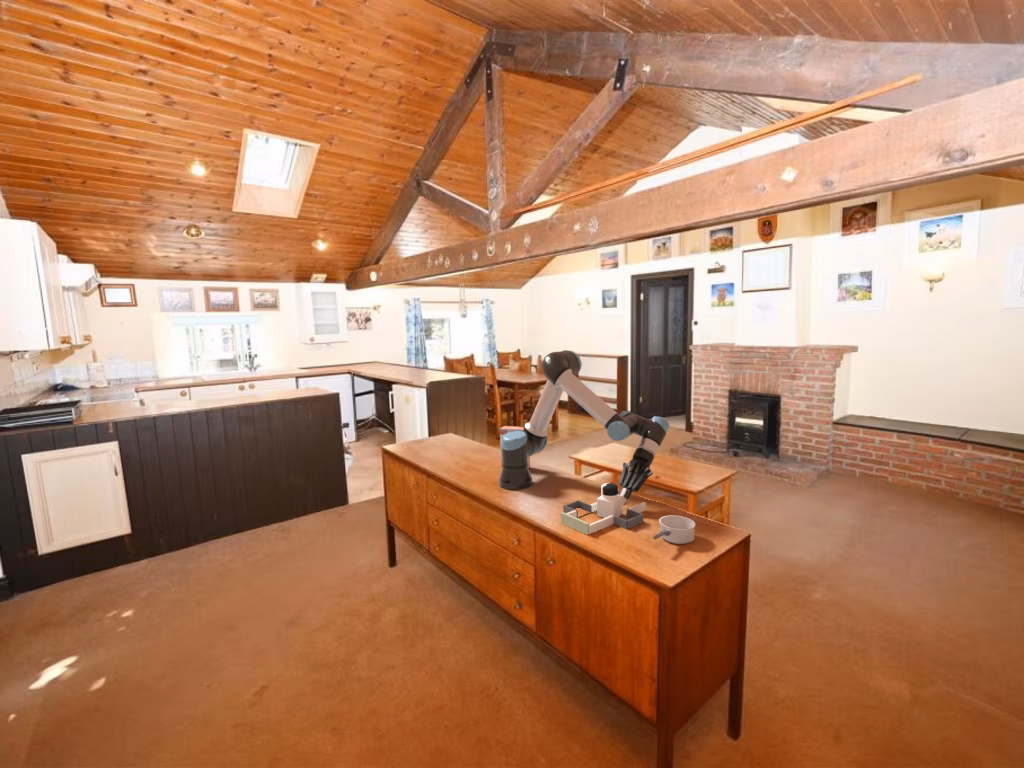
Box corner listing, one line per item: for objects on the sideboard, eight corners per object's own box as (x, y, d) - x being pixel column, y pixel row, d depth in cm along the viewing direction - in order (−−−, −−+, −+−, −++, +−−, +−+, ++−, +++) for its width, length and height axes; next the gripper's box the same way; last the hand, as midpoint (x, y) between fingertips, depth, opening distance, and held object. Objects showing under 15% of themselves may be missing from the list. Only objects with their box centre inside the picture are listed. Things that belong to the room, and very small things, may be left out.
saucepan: (638, 547, 147) (638, 531, 146) (669, 527, 160) (669, 512, 159) (672, 560, 138) (672, 542, 138) (701, 537, 152) (702, 521, 151)
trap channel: (607, 496, 190) (607, 489, 190) (659, 514, 171) (659, 507, 170) (551, 517, 172) (551, 509, 172) (602, 540, 152) (602, 531, 152)
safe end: (563, 522, 167) (562, 511, 167) (589, 534, 157) (589, 523, 156) (561, 523, 167) (560, 512, 166) (587, 535, 156) (587, 524, 156)
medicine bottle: (623, 513, 172) (622, 483, 171) (614, 520, 167) (614, 489, 165) (605, 509, 177) (604, 479, 175) (597, 516, 171) (596, 485, 169)
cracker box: (530, 467, 235) (529, 427, 232) (525, 470, 229) (524, 429, 227) (506, 464, 241) (504, 425, 239) (500, 467, 236) (499, 427, 233)
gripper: (664, 460, 177) (638, 514, 170) (636, 454, 188) (610, 504, 180) (655, 450, 173) (628, 504, 166) (627, 444, 184) (601, 495, 176)
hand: (619, 504), depth 173 cm, fingers closed
